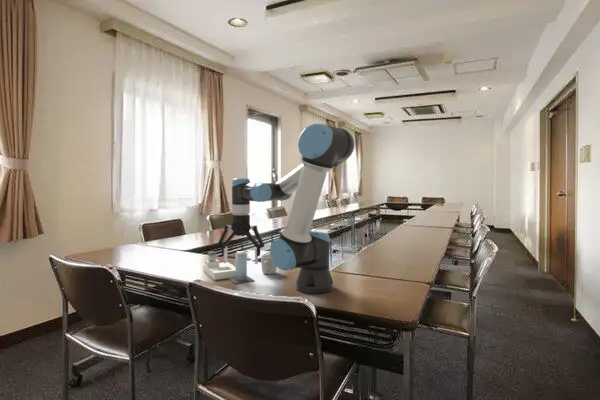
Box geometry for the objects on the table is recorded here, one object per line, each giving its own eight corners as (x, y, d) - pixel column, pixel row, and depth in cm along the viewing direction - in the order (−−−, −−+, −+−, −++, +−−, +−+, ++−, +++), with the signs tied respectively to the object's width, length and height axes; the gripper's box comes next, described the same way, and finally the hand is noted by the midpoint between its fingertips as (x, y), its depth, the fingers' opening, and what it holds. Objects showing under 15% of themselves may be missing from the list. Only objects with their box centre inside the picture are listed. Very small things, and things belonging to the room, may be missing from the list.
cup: (273, 277, 156) (273, 259, 155) (256, 276, 157) (256, 259, 157) (279, 271, 166) (279, 255, 166) (263, 270, 168) (263, 254, 168)
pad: (254, 281, 149) (254, 280, 149) (234, 284, 145) (234, 283, 145) (246, 276, 157) (246, 275, 157) (227, 279, 153) (227, 278, 152)
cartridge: (245, 281, 148) (245, 253, 148) (234, 280, 149) (234, 252, 148) (247, 278, 153) (247, 251, 152) (237, 277, 153) (237, 250, 153)
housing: (240, 276, 157) (240, 264, 157) (214, 279, 151) (214, 267, 151) (227, 267, 173) (227, 256, 172) (203, 270, 167) (203, 259, 166)
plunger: (217, 264, 163) (217, 252, 163) (209, 265, 162) (209, 253, 161) (214, 263, 166) (214, 251, 166) (207, 264, 165) (207, 252, 164)
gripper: (271, 213, 152) (270, 261, 153) (215, 213, 154) (215, 260, 155) (268, 215, 145) (267, 265, 146) (209, 214, 147) (210, 264, 148)
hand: (241, 263), depth 150 cm, fingers open, 13 cm apart
